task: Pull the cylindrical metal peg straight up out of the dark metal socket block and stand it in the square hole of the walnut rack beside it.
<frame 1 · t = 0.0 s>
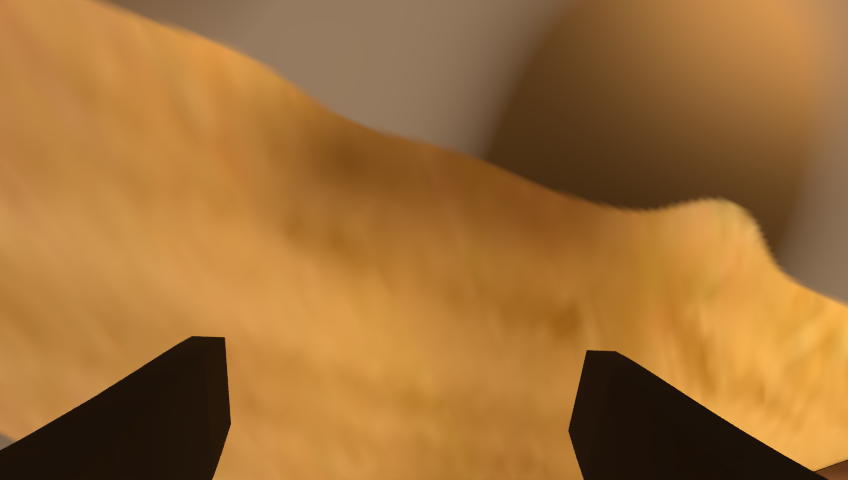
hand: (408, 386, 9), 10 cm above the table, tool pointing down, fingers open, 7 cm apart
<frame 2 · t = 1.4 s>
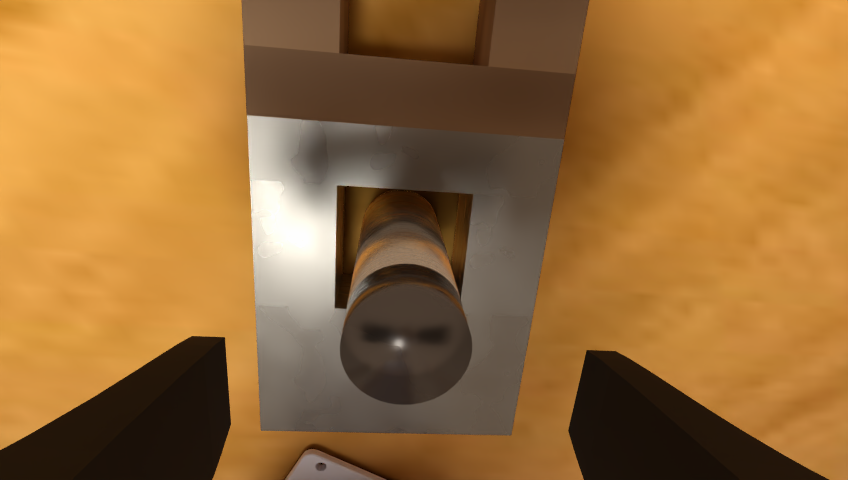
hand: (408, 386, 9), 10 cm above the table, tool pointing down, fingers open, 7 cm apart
cylindrical metal peg: (402, 270, 15), in the socket block
socket block: (400, 225, 19), on the table
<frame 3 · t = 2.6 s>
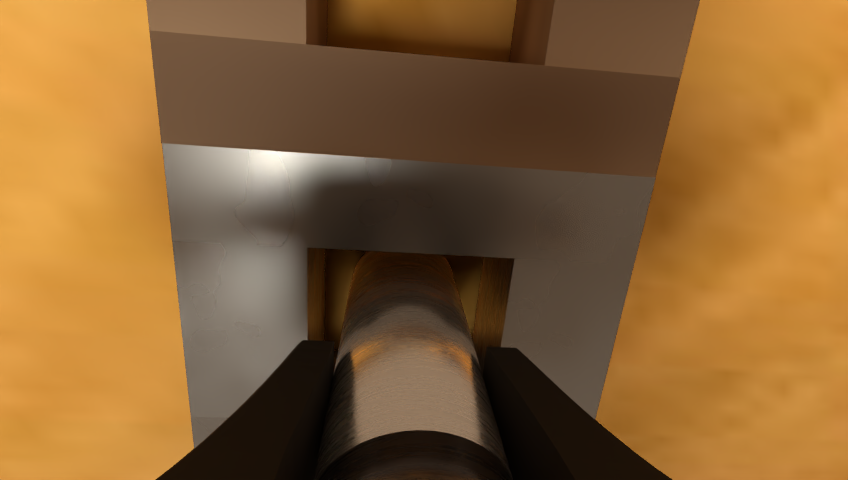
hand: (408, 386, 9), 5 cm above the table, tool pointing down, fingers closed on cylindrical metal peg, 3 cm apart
cylindrical metal peg: (407, 382, 10), in the socket block, touching gripper
socket block: (403, 286, 14), on the table
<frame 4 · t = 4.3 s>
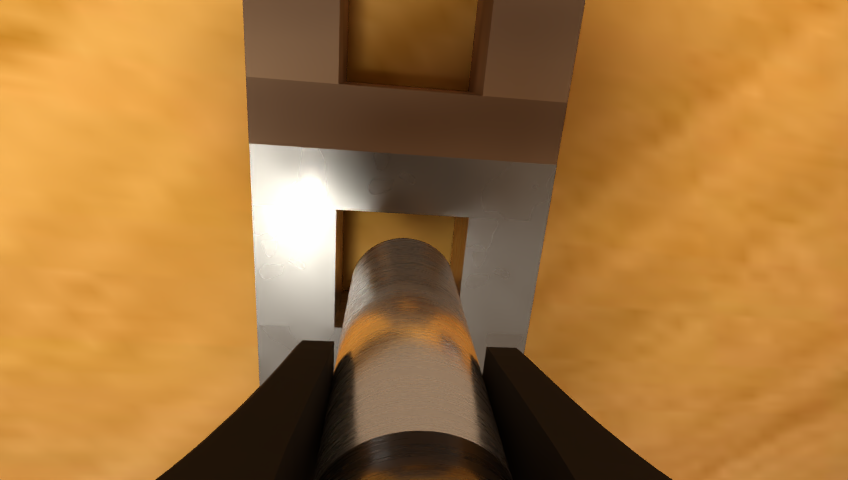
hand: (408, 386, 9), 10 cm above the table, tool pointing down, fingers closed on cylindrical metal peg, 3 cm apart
cylindrical metal peg: (407, 383, 10), point 10 cm above the table, touching gripper
socket block: (398, 244, 20), on the table
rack: (412, 20, 17), on the table
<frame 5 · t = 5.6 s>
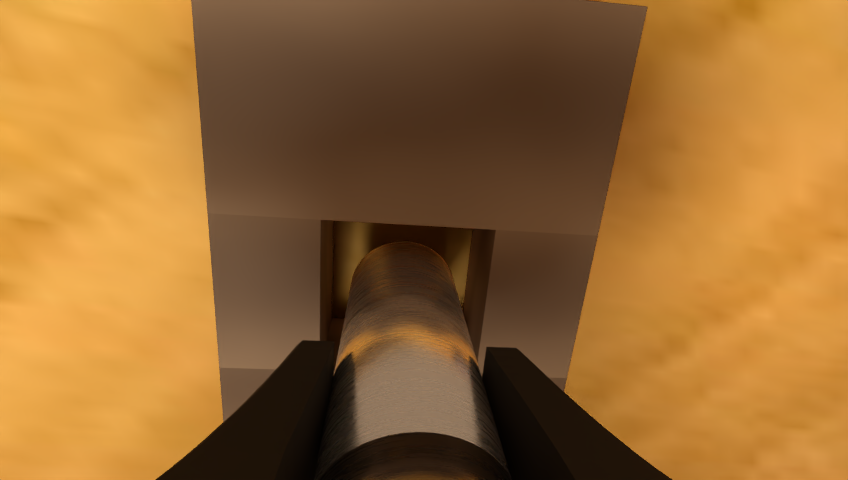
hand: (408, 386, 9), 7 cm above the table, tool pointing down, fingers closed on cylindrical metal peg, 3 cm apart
cylindrical metal peg: (407, 385, 10), point 6 cm above the table, touching gripper
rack: (401, 260, 16), on the table
when the fingers open (5 cm above the table, at t = 6.2 s): cylindrical metal peg stays where it is, resting in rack.
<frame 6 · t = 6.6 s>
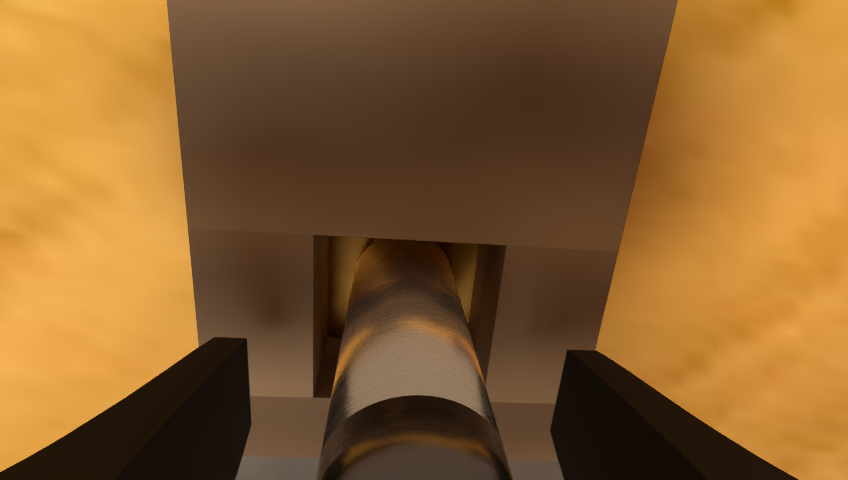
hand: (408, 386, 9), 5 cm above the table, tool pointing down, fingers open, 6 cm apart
cylindrical metal peg: (407, 363, 10), in the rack
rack: (402, 275, 15), on the table
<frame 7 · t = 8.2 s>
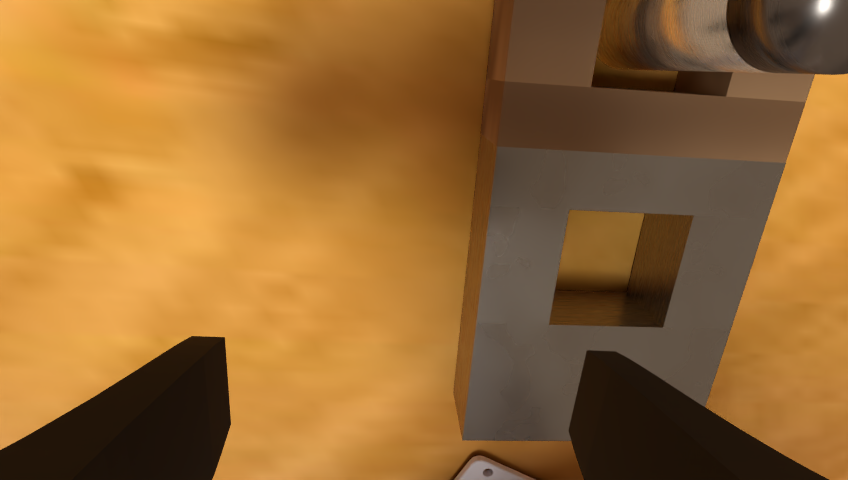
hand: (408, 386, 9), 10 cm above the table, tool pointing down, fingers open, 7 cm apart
cylindrical metal peg: (707, 12, 13), in the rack
socket block: (586, 242, 20), on the table
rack: (630, 22, 17), on the table
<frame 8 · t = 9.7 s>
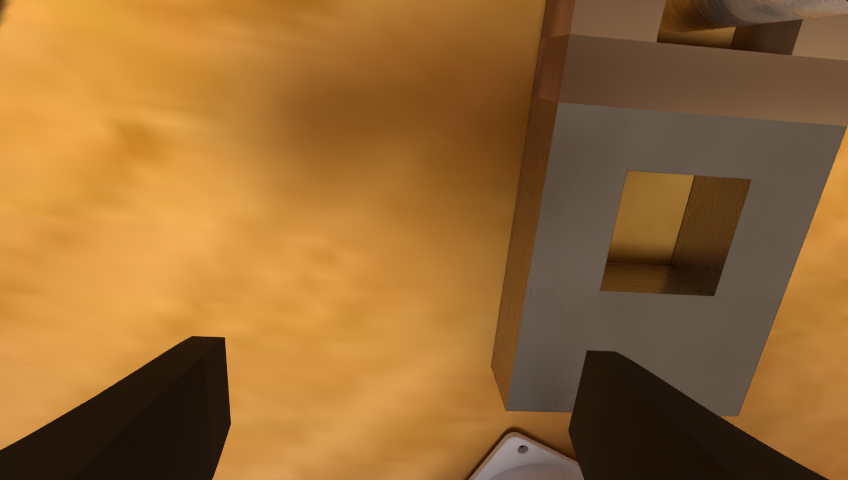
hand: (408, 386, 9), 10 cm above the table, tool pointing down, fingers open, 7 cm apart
socket block: (633, 212, 20), on the table
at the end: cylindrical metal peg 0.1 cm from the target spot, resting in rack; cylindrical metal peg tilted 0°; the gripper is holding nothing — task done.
